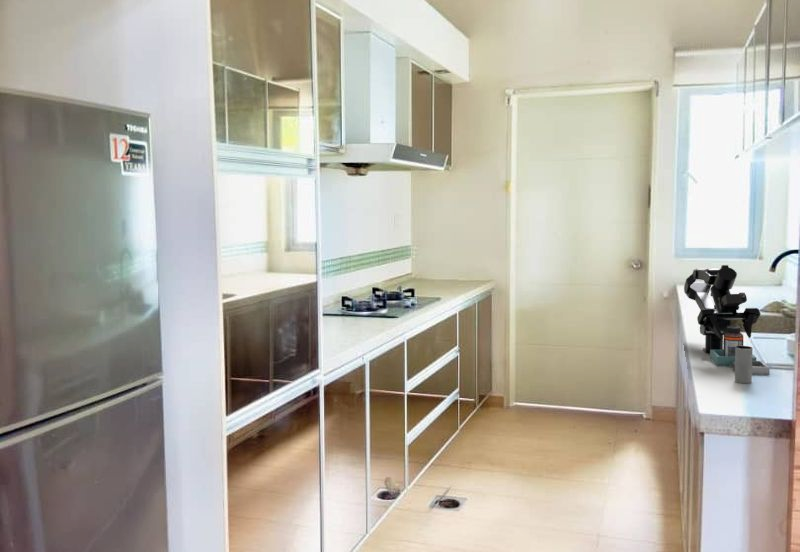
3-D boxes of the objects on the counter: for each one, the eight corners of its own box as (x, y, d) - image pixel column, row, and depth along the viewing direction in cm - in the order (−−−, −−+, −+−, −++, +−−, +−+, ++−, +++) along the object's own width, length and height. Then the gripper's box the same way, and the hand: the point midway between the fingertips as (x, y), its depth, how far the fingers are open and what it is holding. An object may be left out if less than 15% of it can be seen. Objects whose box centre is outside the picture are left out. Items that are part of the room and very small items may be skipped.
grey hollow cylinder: (732, 379, 220) (732, 345, 219) (747, 379, 220) (748, 345, 219) (738, 383, 216) (739, 348, 215) (754, 383, 216) (755, 348, 215)
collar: (730, 367, 237) (730, 360, 236) (761, 367, 235) (761, 360, 234) (736, 373, 228) (737, 366, 227) (769, 374, 226) (769, 367, 225)
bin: (710, 358, 250) (710, 349, 249) (747, 359, 247) (747, 350, 247) (717, 366, 238) (717, 356, 238) (756, 366, 236) (756, 357, 236)
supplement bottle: (726, 358, 247) (726, 324, 245) (745, 360, 243) (746, 326, 242) (720, 361, 242) (721, 327, 241) (740, 363, 238) (740, 328, 237)
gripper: (700, 284, 244) (713, 323, 234) (758, 283, 243) (773, 322, 233) (692, 305, 253) (703, 343, 243) (748, 303, 252) (761, 342, 242)
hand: (735, 337), depth 240 cm, fingers open, 9 cm apart
